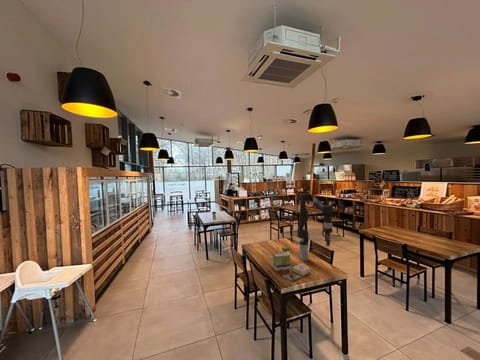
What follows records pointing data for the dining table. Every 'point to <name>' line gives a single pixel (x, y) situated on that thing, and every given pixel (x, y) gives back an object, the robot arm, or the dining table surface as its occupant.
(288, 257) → the tea box
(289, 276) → the lid
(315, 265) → the dining table surface
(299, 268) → the dish
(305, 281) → the dining table surface
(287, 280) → the mat
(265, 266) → the dining table surface
